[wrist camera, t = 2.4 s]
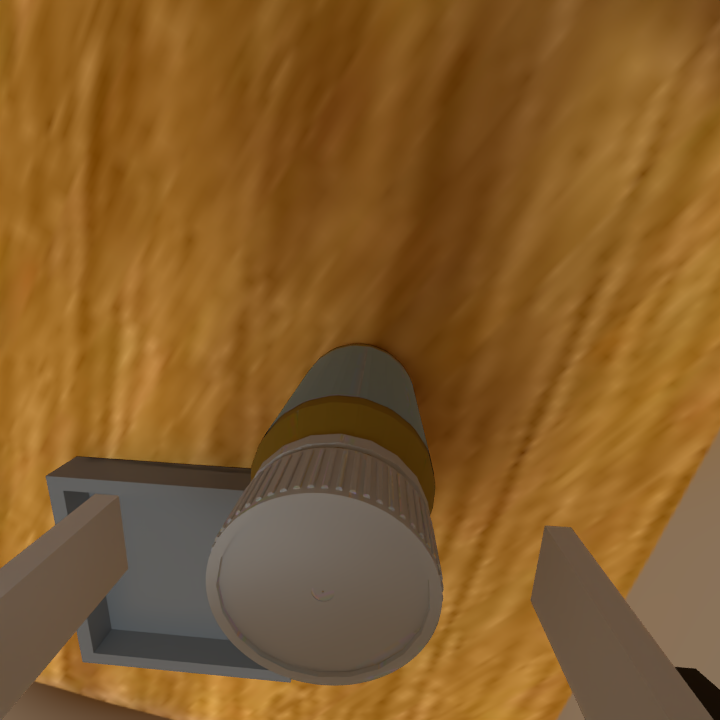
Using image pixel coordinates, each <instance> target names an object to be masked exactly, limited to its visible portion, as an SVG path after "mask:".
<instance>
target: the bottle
mask: <svg viewBox="0 0 720 720" xmlns="http://www.w3.org/2000/svg"><path fill="white" fill-rule="evenodd" d="M434 495H435V479H434V472H433V468H432V463H431V459H430V454H429V450H428V446H427V442H426V438H425V434H424V430H423V426H422V422H421V418H420V414H419V410H418V406H417V401H416V397H415V393H414V389H413V385H412V382H411V379H410V377H409V375H408V373H407V372H406V370H405V369H404V367H403V365H402V364H401V363H400V362H399V361H398V360H397V359H396V358H394V357H393V356H392V355H391V354H390V353H388V352H386V351H384V350H382V349H379V348H377V347H374V346H371V345H363V344H350V345H345V346H341V347H337V348H335V349H333V350H331V351H330V352H328V353H326V354H325V355H323V356H322V357H321V358H320V359H319V360H318V361H317V362H316V363H315V364H314V365H313V367H312V368H311V369H310V370H309V372H308V373H307V375H306V376H305V377H304V379H303V380H302V382H301V383H300V385H299V386H298V388H297V389H296V391H295V392H294V393H293V395H292V396H291V398H290V399H289V401H288V402H287V404H286V405H285V406H284V408H283V409H282V411H281V412H280V414H279V415H278V417H277V418H276V420H275V421H274V422H273V424H272V425H271V427H270V428H269V430H268V431H267V433H266V434H265V436H264V438H263V440H262V441H261V443H260V445H259V447H258V449H257V452H256V455H255V458H254V460H253V463H252V467H251V482H250V484H249V486H247V487H246V489H245V490H244V492H243V493H242V495H241V497H240V498H239V500H238V502H237V503H236V505H235V506H234V508H233V510H232V511H231V513H230V515H229V516H228V518H227V520H226V521H225V523H224V525H223V526H222V528H221V529H220V531H219V533H218V534H217V536H216V538H215V542H214V544H213V545H212V547H211V554H210V556H209V558H208V564H207V569H206V592H207V597H208V601H209V605H210V608H211V611H212V613H213V615H214V617H215V619H216V621H217V623H218V625H219V626H220V628H221V630H222V631H223V632H224V634H225V635H226V636H227V638H228V639H229V640H230V641H231V642H232V643H233V644H234V645H235V646H236V647H237V648H238V649H239V650H240V651H241V652H242V653H244V654H245V655H246V656H247V657H249V658H250V659H251V660H253V661H254V662H256V663H257V664H259V665H261V666H262V667H264V668H266V669H268V670H270V671H272V672H274V673H277V674H279V675H282V676H284V677H287V678H290V679H293V680H297V681H301V682H306V683H311V684H319V685H350V684H357V683H362V682H367V681H371V680H374V679H377V678H380V677H383V676H385V675H388V674H390V673H392V672H394V671H396V670H397V669H399V668H401V667H402V666H404V665H405V664H407V663H408V662H409V661H411V660H412V659H413V658H414V657H415V656H416V655H417V654H418V653H419V652H420V651H421V650H422V649H423V648H424V647H425V645H426V644H427V643H428V641H429V640H430V638H431V637H432V635H433V633H434V631H435V629H436V626H437V624H438V621H439V617H440V613H441V607H442V601H443V595H442V592H443V582H442V579H443V578H442V572H441V567H440V562H439V557H438V551H437V546H436V541H435V536H434V530H433V527H432V521H431V518H430V514H431V511H432V508H433V502H434Z"/></svg>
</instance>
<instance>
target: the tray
mask: <svg viewBox="0 0 720 720" xmlns="http://www.w3.org/2000/svg"><path fill="white" fill-rule="evenodd" d="M46 480H47V485H48V490H49V495H50V500H51V505H52V510H53V515H54V520H55V525H56V524H57V523H59V522H60V521H61V520H63V519H64V518H65V517H66V516H68V515H69V514H70V513H71V512H73V511H74V510H75V509H76V508H78V507H79V506H80V505H82V504H83V503H84V502H85V501H87V500H88V499H89V498H90V497H92V496H93V495H94V494H104V495H118V496H119V502H120V509H121V517H122V524H123V532H124V539H125V547H126V554H127V562H128V570H127V571H126V572H125V573H124V574H123V576H122V577H121V578H120V579H119V580H118V582H117V583H116V584H115V585H114V586H113V588H112V589H111V590H110V591H109V592H108V594H107V595H106V596H105V597H104V598H103V600H102V601H101V602H100V603H99V604H98V606H97V607H96V608H95V609H94V610H93V611H92V613H91V614H90V615H89V616H88V617H87V619H86V620H85V621H84V622H83V623H82V625H81V626H80V627H79V628H78V629H77V635H78V640H79V645H80V650H81V655H82V660H83V662H88V663H98V664H108V665H118V666H128V667H138V668H149V669H159V670H169V671H179V672H189V673H199V674H209V675H220V676H230V677H240V678H250V679H260V680H270V681H280V682H291V679H290V678H287V677H284V676H282V675H279V674H277V673H274V672H272V671H270V670H268V669H266V668H264V667H262V666H261V665H259V664H257V663H256V662H254V661H253V660H251V659H250V658H249V657H247V656H246V655H245V654H244V653H242V652H241V651H240V650H239V649H238V648H237V647H236V646H235V645H234V644H233V643H232V642H231V641H230V640H229V639H228V638H227V636H226V635H225V634H224V632H223V631H222V630H221V628H220V626H219V625H218V623H217V621H216V619H215V617H214V615H213V613H212V611H211V608H210V605H209V601H208V597H207V592H206V569H207V564H208V558H209V556H210V554H211V547H212V545H213V544H214V542H215V538H216V536H217V534H218V533H219V531H220V529H221V528H222V526H223V525H224V523H225V521H226V520H227V518H228V516H229V515H230V513H231V511H232V510H233V508H234V506H235V505H236V503H237V502H238V500H239V498H240V497H241V495H242V493H243V492H244V490H245V489H246V487H247V486H249V484H250V482H251V469H245V468H231V467H217V466H203V465H189V464H175V463H161V462H147V461H133V460H119V459H105V458H91V457H75V458H74V459H72V460H70V461H69V462H67V463H66V464H64V465H62V466H61V467H59V468H58V469H56V470H55V471H53V472H51V473H50V474H48V475H47V476H46Z"/></svg>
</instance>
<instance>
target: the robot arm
mask: <svg viewBox="0 0 720 720" xmlns="http://www.w3.org/2000/svg"><path fill="white" fill-rule="evenodd" d="M127 570H128V562H127V554H126V547H125V539H124V532H123V524H122V517H121V509H120V502H119V496H118V495H104V494H94V495H93V496H92V497H90V498H89V499H88V500H87V501H85V502H84V503H83V504H82V505H80V506H79V507H78V508H76V509H75V510H74V511H73V512H71V513H70V514H69V515H68V516H66V517H65V518H64V519H63V520H61V521H60V522H59V523H57V524H56V525H55V526H54V527H52V528H51V529H50V530H49V531H47V532H46V533H45V534H44V535H42V536H41V537H40V538H39V539H37V540H36V541H35V542H33V543H32V544H31V545H30V546H28V547H27V548H26V549H25V550H23V551H22V552H21V553H20V554H18V555H17V556H16V557H14V558H13V559H12V560H11V561H9V562H8V563H7V564H6V565H4V566H3V567H2V568H1V569H0V720H2V719H3V718H4V717H5V715H6V714H7V713H8V712H9V711H10V709H11V708H12V707H13V706H14V705H15V703H16V702H17V701H18V700H19V699H20V697H21V696H22V695H23V694H24V693H25V691H26V690H27V689H28V688H29V687H30V685H31V684H32V683H33V682H34V681H35V680H36V678H37V677H38V676H39V675H40V674H41V672H42V671H43V670H44V669H45V668H46V666H47V665H48V664H49V663H50V662H51V660H52V659H53V658H54V657H55V656H56V654H57V653H58V652H59V651H60V650H61V648H62V647H63V646H64V645H65V644H66V643H67V641H68V640H69V639H70V638H71V637H72V635H73V634H74V633H75V632H76V631H77V629H78V628H79V627H80V626H81V625H82V623H83V622H84V621H85V620H86V619H87V617H88V616H89V615H90V614H91V613H92V611H93V610H94V609H95V608H96V607H97V606H98V604H99V603H100V602H101V601H102V600H103V598H104V597H105V596H106V595H107V594H108V592H109V591H110V590H111V589H112V588H113V586H114V585H115V584H116V583H117V582H118V580H119V579H120V578H121V577H122V576H123V574H124V573H125V572H126V571H127ZM531 602H532V604H533V607H534V609H535V611H536V613H537V615H538V618H539V620H540V622H541V624H542V626H543V629H544V631H545V633H546V635H547V637H548V640H549V642H550V644H551V646H552V648H553V650H554V653H555V655H556V657H557V659H558V661H559V664H560V666H561V668H562V670H563V672H564V675H565V677H566V679H567V681H568V683H569V686H570V688H571V690H572V692H573V694H574V696H575V698H576V701H577V703H578V705H579V707H580V710H581V712H582V714H583V716H584V718H585V720H720V690H719V689H718V688H717V687H716V686H715V685H714V684H713V683H711V682H710V681H709V680H708V679H707V678H706V677H704V676H703V675H702V674H701V673H700V672H699V671H697V669H693V668H681V667H674V666H673V664H672V663H671V662H670V660H669V659H668V658H667V656H666V655H665V654H664V652H663V651H662V650H661V648H660V647H659V645H658V644H657V643H656V641H655V640H654V639H653V637H652V636H651V635H650V633H649V632H648V631H647V629H646V628H645V627H644V625H643V624H642V623H641V621H640V620H639V619H638V617H637V616H636V614H635V613H634V612H633V610H632V609H631V608H630V606H629V605H628V604H627V602H626V601H625V600H624V598H623V597H622V596H621V594H620V593H619V591H618V590H617V589H616V587H615V586H614V585H613V583H612V582H611V581H610V579H609V578H608V577H607V575H606V574H605V573H604V571H603V570H602V569H601V567H600V566H599V564H598V563H597V562H596V560H595V559H594V558H593V556H592V555H591V554H590V552H589V551H588V550H587V548H586V547H585V546H584V544H583V543H582V542H581V540H580V539H579V538H578V536H577V535H576V533H575V532H574V531H573V529H572V528H571V527H557V526H545V528H544V533H543V538H542V544H541V549H540V554H539V559H538V564H537V570H536V575H535V580H534V585H533V590H532V596H531Z"/></svg>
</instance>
